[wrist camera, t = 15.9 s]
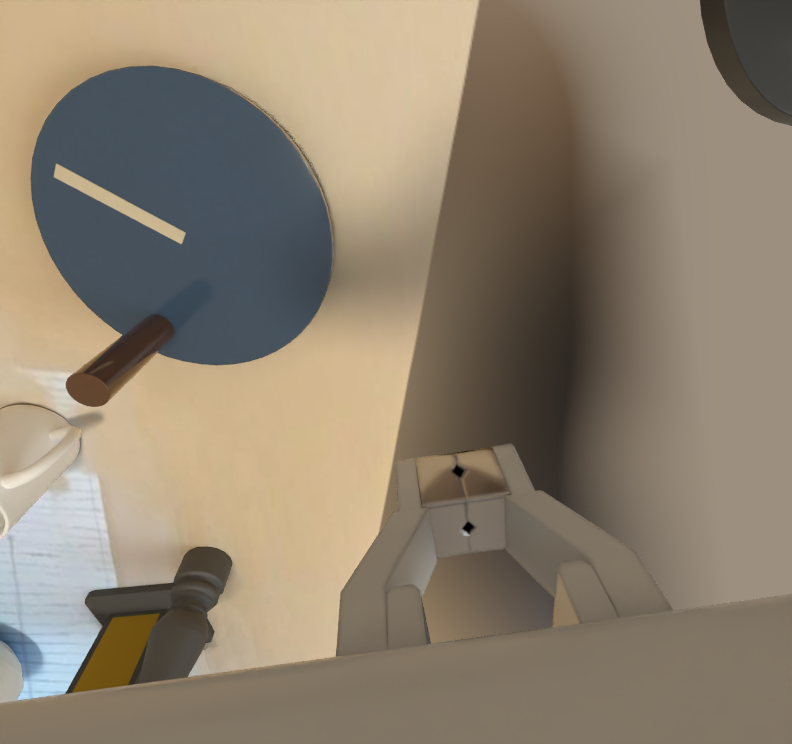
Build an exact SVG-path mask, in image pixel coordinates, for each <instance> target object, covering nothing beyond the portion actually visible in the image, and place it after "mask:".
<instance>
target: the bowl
mask: <svg viewBox="0 0 792 744" xmlns="http://www.w3.org/2000/svg"><path fill="white" fill-rule="evenodd" d="M23 687H24V683H23V679H22V666H21V664H20V662H19V660H18V659H17V657H16V655H15V653H14V652H13V650H12V649H11V648H10V647H9V646H8V645H7V644H6V643H4V642H3V641H1V640H0V703H2V702H9V701H17V699H18V697H19V695H20V694H21V692H22V689H23Z"/></svg>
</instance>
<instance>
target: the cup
mask: <svg viewBox="0 0 792 744" xmlns="http://www.w3.org/2000/svg"><path fill="white" fill-rule="evenodd" d="M80 436H81V430H80V428H78V427H75V426H71V425H70V423H68V422H67V421H66V420H65V419H64V418H62V417H61V416H59V415H58V414H56V413H54V412H52V411H50V410H48V409H45V408H42V407H38V406H33V405H13V406H8V407H5V408H2V409H0V539H1V538H2V537H4V536H5V535H6V534H7V532H8V531H9V530H10V529H11V528H12V527H13V526H14V525H15V524H16V523H17V522H18V521H19V520H20V518H21V517H22V516H23V515H24V514H25V513H26V512H27V511H28V510H29V509H30V508H31V507H32V506H33V505H34V503H35V502H36V501H37V500H38V499H39V498H40V497H41V496H42V495H43V494H44V493H45V492H46V491H47V490H48V488H49V487H50V486H51V485H52V484H53V483H54V482H55V481H56V480H57V479H58V478H59V477H60V476H61V474H62V473H63V472H64V471H65V470H66V469H67V468H68V467H69V466H70V465H71V464H72V462H73V461H74V460H75V458H76V457H77V455H78V453H79V449H80V441H79V438H80Z"/></svg>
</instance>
